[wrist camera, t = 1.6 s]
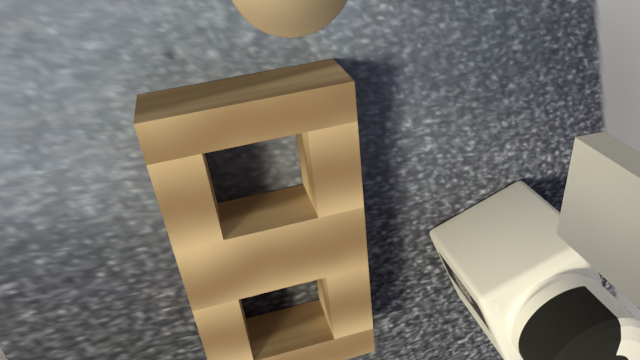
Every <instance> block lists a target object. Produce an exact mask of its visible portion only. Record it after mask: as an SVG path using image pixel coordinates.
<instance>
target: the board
mask: <svg viewBox="0 0 640 360" xmlns="http://www.w3.org/2000/svg"><path fill="white" fill-rule="evenodd" d="M134 127H135V130H136V134H137V137H138V140H139V143H140V146H141V149H142V153H143V156H144V159H145V162H146V165H147V168H148V172H149V175H150V178H151V181H152V184H153V188H154V191H155V194H156V197H157V200H158V203H159V207H160V210H161V213H162V216H163V219H164V223H165V226H166V229H167V232H168V235H169V238H170V242H171V245H172V248H173V251H174V254H175V257H176V261H177V264H178V267H179V270H180V273H181V277H182V280H183V283H184V286H185V289H186V292H187V296H188V299H189V302H190V305H191V308H192V312H193V315H194V318H195V321H196V324H197V327H198V331H199V334H200V337H201V340H202V343H203V346H204V350H205V353H206V356H207V359H208V360H346V359H349V358H353V357H356V356H360V355H363V354H367V353H371V352H374V351H375V347H374V334H373V321H372V307H371V294H370V280H369V267H368V254H367V240H366V227H365V213H364V200H363V187H362V173H361V160H360V146H359V133H358V120H357V106H356V93H355V81H354V80H353V79H352V78H351V77H350V76H349V75H348V74H347V73H346V72H345V70H344V69H343V68H342V67H341V66H340V65H339V64H338V63H337V62H336V61H335V60H334V59H329V60H323V61H318V62H313V63H307V64H302V65H297V66H291V67H286V68H280V69H275V70H270V71H264V72H259V73H254V74H248V75H243V76H237V77H232V78H227V79H221V80H216V81H211V82H205V83H200V84H195V85H189V86H184V87H178V88H173V89H168V90H162V91H157V92H152V93H146V94H141V95H137V100H136V108H135V117H134ZM295 134H296V138H297V145H298V152H299V159H300V166H301V173H302V180H303V184H301V185H297V186H292V187H288V188H283V189H279V190H275V191H270V192H266V193H261V194H257V195H252V196H248V197H243V198H239V199H234V200H230V201H225V202H221V203H217V200H216V196H215V192H214V188H213V184H212V180H211V175H210V171H209V167H208V163H207V159H206V155H205V153H208V152H213V151H218V150H223V149H227V148H232V147H237V146H242V145H247V144H252V143H256V142H261V141H266V140H271V139H276V138H280V137H285V136H290V135H295ZM313 280H317V285H318V292H319V300H316V301H312V302H308V303H304V304H300V305H296V306H293V307H289V308H285V309H281V310H277V311H273V312H270V313H266V314H262V315H258V316H254V317H251V318H247V319H246V318H245V314H244V310H243V306H242V302H241V299H243V298H247V297H251V296H255V295H258V294H262V293H266V292H270V291H274V290H278V289H282V288H286V287H290V286H294V285H298V284H302V283H306V282H309V281H313Z"/></svg>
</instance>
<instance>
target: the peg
mask: <svg viewBox="0 0 640 360" xmlns="http://www.w3.org/2000/svg"><path fill="white" fill-rule="evenodd" d="M232 1H233V2H234V4H235V6H236V8H237V9H238V10H239V12H240V13H241V14H242V16H243V17H244V18H245V19H246V20H247V21H248V22H250V23H251V24H252V25H253V26H255V27H256V28H258V29H259V30H261V31H263V32H265V33H268V34H271V35H274V36H278V37H285V38H294V37H301V36H305V35H309V34H312V33H314V32H316V31H318V30H320V29H322V28H323V27H325V26H326V25H328V24H329V23H330V22H331V21H332V20H333V19H334V18H335V17H336V16H337V15H338V14H339V13H340V11H341V10H342V9H343V7H344V5H345V4H346V2H347V0H232Z"/></svg>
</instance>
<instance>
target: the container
mask: <svg viewBox="0 0 640 360" xmlns="http://www.w3.org/2000/svg"><path fill="white" fill-rule="evenodd" d="M559 217H560V212H559V211H557V210H556V209H555V208H554V207H553V206H552V205H550V204H549V203H548V202H547V201H546V200H544V199H543V198H542V197H541V196H540V195H539V194H537V193H536V192H535V191H534V190H533V189H531V188H530V187H529V186H528V185H527V184H525V183H524V182H523V181H516V182H515V183H513V184H511V185H509V186H508V187H506V188H504V189H502V190H501V191H499V192H497V193H495V194H493V195H492V196H490V197H488V198H486V199H485V200H483V201H481V202H479V203H478V204H476V205H474V206H472V207H470V208H469V209H467V210H465V211H463V212H462V213H460V214H458V215H456V216H455V217H453V218H451V219H449V220H447V221H446V222H444V223H442V224H440V225H439V226H437V227H435V228H433V229H432V230H431V231H430V237H431V239H432V241H433V243H434V245H435V247H436V250H437V252H438V254H439V256H440V258H441V260H442V262H443V264H444V266H445V268H446V270H447V273H448V275H449V277H450V279H451V281H452V283H453V285H454V287H455V289H456V291H457V294H458V295H459V297H460V298H461V300H462V301H463V302H464V304H465V305H466V307H467V308H468V310H469V311H470V312H471V314H472V315H473V317H474V318H475V319H476V321H477V322H478V324H479V325H480V327H481V328H482V329H483V331H484V332H485V334H486V335H487V336H488V338H489V339H490V341H491V342H492V343H493V345H494V346H495V348H496V349H497V351H498V352H499V353H500V355H501V356H502V358H503V359H504V360H640V321H639V320H638V319H637V318H636V317H635V316H634V315H633V314H632V313H631V312H630V311H629V310H628V309H627V308H625V307H624V306H623V305H622V304H621V303H620V302H619V301H618V300H617V299H616V298H615V297H614V296H613V295H611V294H610V293H609V292H608V291H607V290H606V289H605V288H604V287H603V286H602V284H601V280H600V275H599V272H598V271H597V270H596V269H594V268H593V267H592V266H591V265H590V264H589V263H588V262H587V261H586V260H585V259H583V258H582V257H581V256H580V255H579V254H578V253H577V252H576V251H575V250H573V249H572V248H571V247H570V246H569V245H568V244H567V243H566V242H565V241H564V240H562V239H561V238H560V237H559V236H558V235H557V234H556V232H557V227H558V222H559Z"/></svg>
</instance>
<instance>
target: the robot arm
mask: <svg viewBox="0 0 640 360" xmlns="http://www.w3.org/2000/svg"><path fill="white" fill-rule="evenodd" d="M556 234H557V235H558V236H559V237H560V238H561V239H562V240H564V241H565V242H566V243H567V244H568V245H569V246H570V247H571V248H572V249H573V250H575V251H576V252H577V253H578V254H579V255H580V256H581V257H582V258H583V259H585V260H586V261H587V262H588V263H589V264H590V265H591V266H592V267H593V268H594V269H596V270H597V271H598V272H599V273H600V274H601V275H602V276H603V277H604V278H605V279H607V280H608V281H609V282H610V283H611V284H612V285H613V286H614V287H615V288H616V289H618V290H619V291H620V292H621V293H622V294H623V295H624V296H625V297H626V298H627V299H629V300H630V301H631V302H632V303H633V304H634V305H635V306H636V307H637V308H638V309H640V152H638V151H637V150H635V149H633V148H631V147H630V146H628V145H626V144H625V143H623V142H621V141H619V140H618V139H616V138H614V137H612V136H610V135H609V134H607V133H606V132H600V133H595V134H590V135H585V136H580V137H575V142H574V147H573V152H572V157H571V162H570V167H569V172H568V177H567V182H566V187H565V192H564V197H563V202H562V207H561V212H560V217H559V222H558V227H557V232H556ZM0 360H7V358H6V357H5V355H4V353H3V351H2V349H1V347H0Z"/></svg>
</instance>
